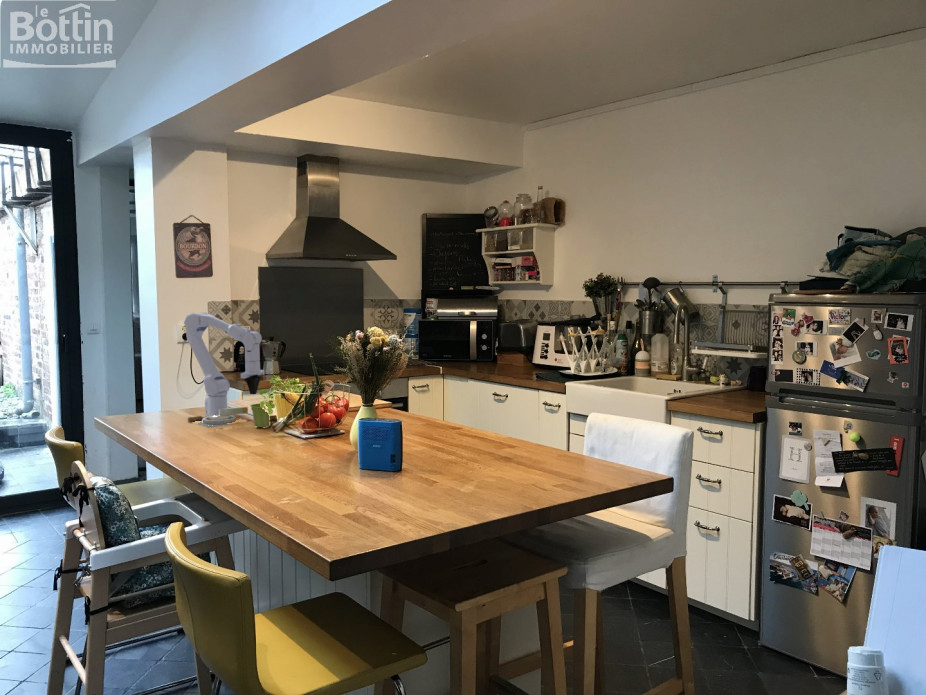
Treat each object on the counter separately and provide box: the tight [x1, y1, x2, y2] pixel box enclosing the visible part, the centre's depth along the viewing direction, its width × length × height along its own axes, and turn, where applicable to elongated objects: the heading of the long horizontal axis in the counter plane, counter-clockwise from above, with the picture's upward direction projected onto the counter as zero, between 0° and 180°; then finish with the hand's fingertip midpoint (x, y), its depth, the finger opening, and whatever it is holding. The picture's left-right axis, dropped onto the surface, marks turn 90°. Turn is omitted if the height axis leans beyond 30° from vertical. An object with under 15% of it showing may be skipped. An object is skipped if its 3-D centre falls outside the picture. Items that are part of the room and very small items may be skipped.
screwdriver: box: [187, 415, 209, 423], centre depth 295 cm, size 12×2×2 cm, turn 138°
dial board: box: [198, 415, 239, 428], centre depth 293 cm, size 18×18×2 cm
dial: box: [208, 406, 249, 420], centre depth 294 cm, size 15×8×5 cm, turn 122°
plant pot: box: [249, 403, 269, 427], centre depth 284 cm, size 9×9×9 cm
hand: (253, 394), depth 304 cm, fingers closed
